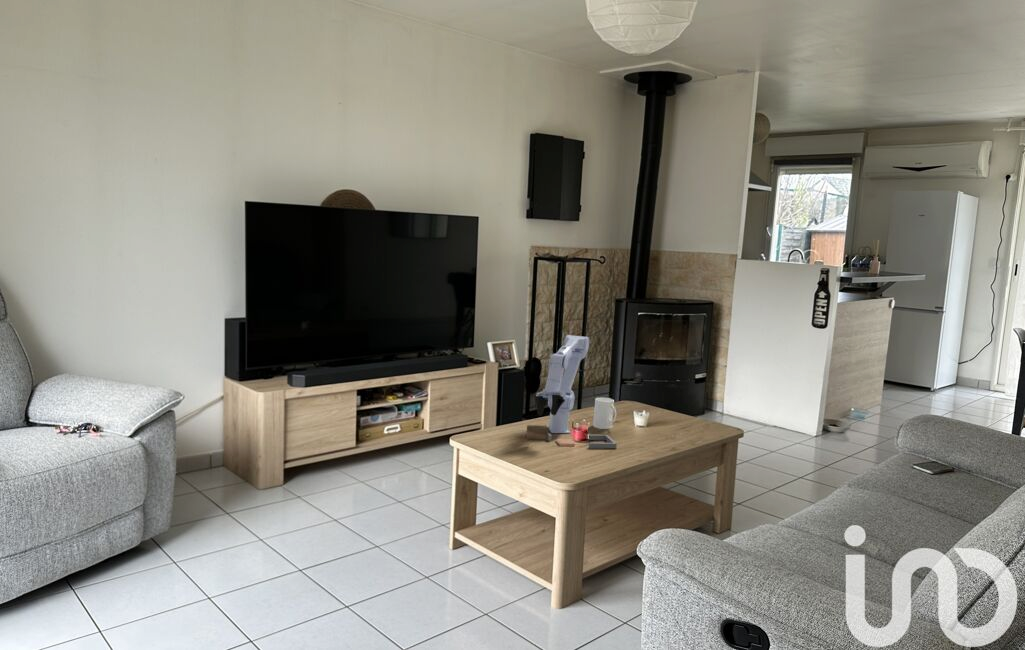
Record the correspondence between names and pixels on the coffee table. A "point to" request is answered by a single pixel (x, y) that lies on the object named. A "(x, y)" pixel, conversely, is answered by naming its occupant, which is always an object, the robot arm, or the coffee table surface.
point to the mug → (604, 413)
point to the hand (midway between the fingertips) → (546, 414)
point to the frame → (609, 443)
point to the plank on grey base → (538, 432)
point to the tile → (565, 442)
